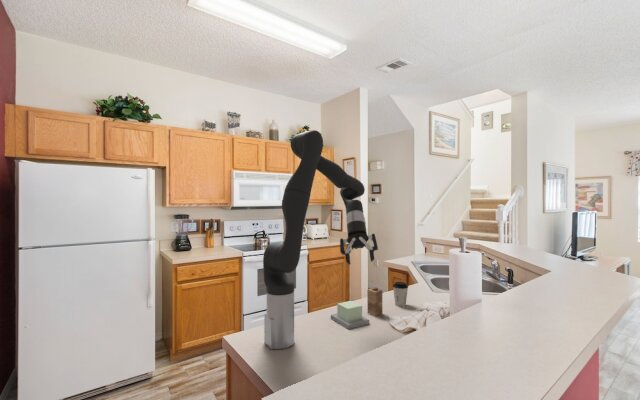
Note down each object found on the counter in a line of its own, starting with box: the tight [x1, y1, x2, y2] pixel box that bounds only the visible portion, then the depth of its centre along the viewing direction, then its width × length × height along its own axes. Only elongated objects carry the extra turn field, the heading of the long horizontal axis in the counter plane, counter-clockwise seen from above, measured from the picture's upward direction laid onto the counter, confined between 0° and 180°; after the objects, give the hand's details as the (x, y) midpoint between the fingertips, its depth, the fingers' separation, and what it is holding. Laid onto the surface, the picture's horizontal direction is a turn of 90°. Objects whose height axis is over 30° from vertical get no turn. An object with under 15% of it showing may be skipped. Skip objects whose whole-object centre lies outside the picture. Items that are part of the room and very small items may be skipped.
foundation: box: [330, 300, 370, 330], centre depth 121 cm, size 10×12×6 cm
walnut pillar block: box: [367, 286, 383, 317], centre depth 129 cm, size 4×4×11 cm
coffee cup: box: [392, 281, 409, 308], centre depth 139 cm, size 7×7×10 cm
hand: (360, 262), depth 114 cm, fingers open, 8 cm apart
